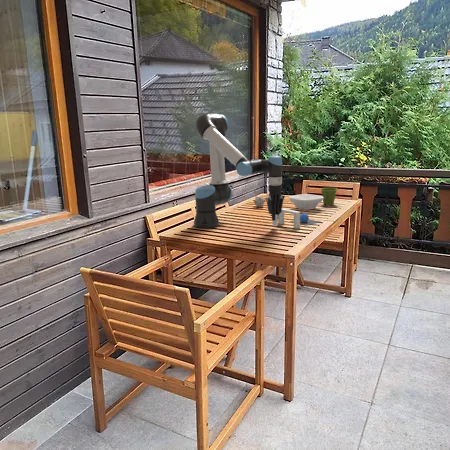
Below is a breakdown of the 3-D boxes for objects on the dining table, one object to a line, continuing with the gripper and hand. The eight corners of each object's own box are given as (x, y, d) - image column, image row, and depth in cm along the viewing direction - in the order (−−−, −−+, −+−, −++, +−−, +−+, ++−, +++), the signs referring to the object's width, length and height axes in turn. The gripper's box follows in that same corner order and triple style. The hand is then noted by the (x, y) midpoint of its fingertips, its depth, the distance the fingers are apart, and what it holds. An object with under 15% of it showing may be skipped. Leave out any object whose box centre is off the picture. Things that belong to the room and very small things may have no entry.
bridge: (296, 228, 234) (296, 212, 232) (278, 224, 246) (278, 208, 243) (299, 227, 236) (300, 211, 234) (281, 223, 247) (281, 208, 245)
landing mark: (306, 225, 240) (306, 225, 240) (289, 221, 250) (289, 221, 250) (320, 222, 248) (320, 221, 247) (304, 218, 258) (304, 218, 258)
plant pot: (318, 203, 306) (319, 187, 303) (334, 202, 305) (335, 187, 303) (321, 206, 294) (322, 190, 292) (338, 205, 294) (339, 190, 291)
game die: (260, 211, 300) (267, 199, 301) (262, 209, 291) (268, 197, 293) (250, 205, 300) (256, 193, 301) (251, 203, 292) (257, 191, 293)
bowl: (305, 213, 272) (305, 200, 270) (284, 208, 289) (284, 196, 287) (327, 209, 283) (327, 197, 281) (306, 205, 300) (306, 193, 298)
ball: (311, 216, 248) (308, 224, 246) (304, 216, 252) (301, 223, 250) (307, 211, 245) (303, 219, 243) (300, 211, 249) (296, 218, 247)
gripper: (271, 186, 222) (271, 228, 227) (288, 183, 229) (288, 225, 235) (261, 185, 227) (262, 226, 233) (278, 182, 235) (278, 222, 241)
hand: (275, 225), depth 234 cm, fingers closed
